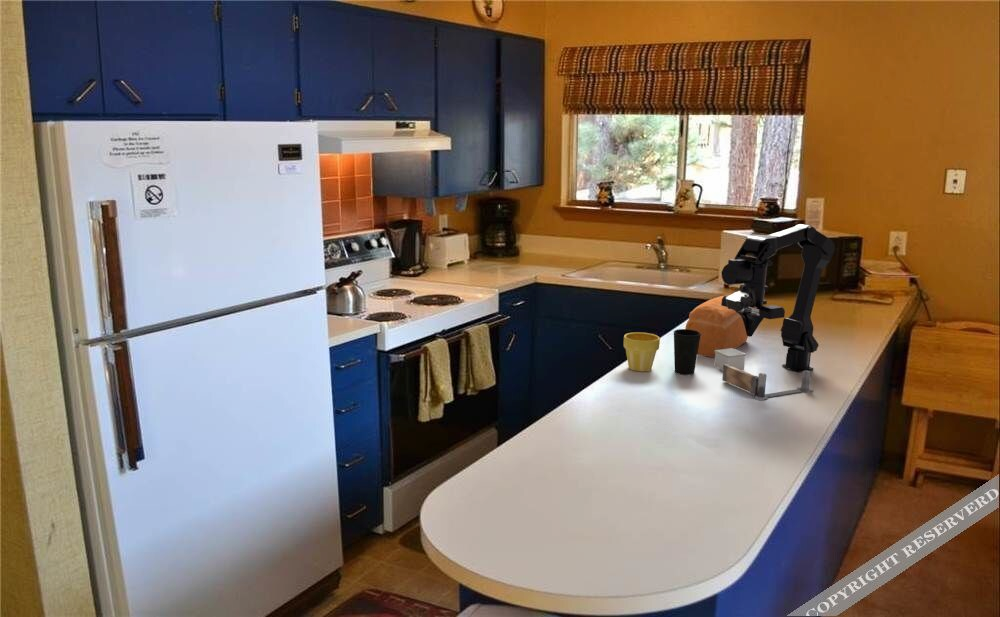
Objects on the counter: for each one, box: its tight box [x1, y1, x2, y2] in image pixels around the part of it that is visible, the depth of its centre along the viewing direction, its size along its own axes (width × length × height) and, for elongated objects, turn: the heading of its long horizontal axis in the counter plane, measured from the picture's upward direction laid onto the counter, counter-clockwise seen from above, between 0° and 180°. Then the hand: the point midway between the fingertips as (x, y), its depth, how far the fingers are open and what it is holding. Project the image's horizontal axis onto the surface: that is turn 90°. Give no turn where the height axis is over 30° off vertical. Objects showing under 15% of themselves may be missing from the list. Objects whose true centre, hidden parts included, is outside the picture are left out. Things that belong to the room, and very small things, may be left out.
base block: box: [714, 348, 747, 371], centre depth 243 cm, size 6×6×5 cm
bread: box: [684, 295, 749, 358], centre depth 264 cm, size 14×26×16 cm, turn 145°
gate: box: [721, 364, 759, 396], centre depth 224 cm, size 13×2×5 cm, turn 25°
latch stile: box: [796, 370, 814, 393], centre depth 224 cm, size 3×3×6 cm
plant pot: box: [623, 332, 661, 373], centre depth 240 cm, size 10×10×10 cm
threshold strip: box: [765, 388, 803, 399], centre depth 221 cm, size 12×2×1 cm, turn 115°
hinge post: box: [752, 372, 769, 401], centre depth 217 cm, size 4×4×6 cm
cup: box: [673, 328, 701, 376], centre depth 237 cm, size 8×8×12 cm
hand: (749, 336), depth 230 cm, fingers closed
